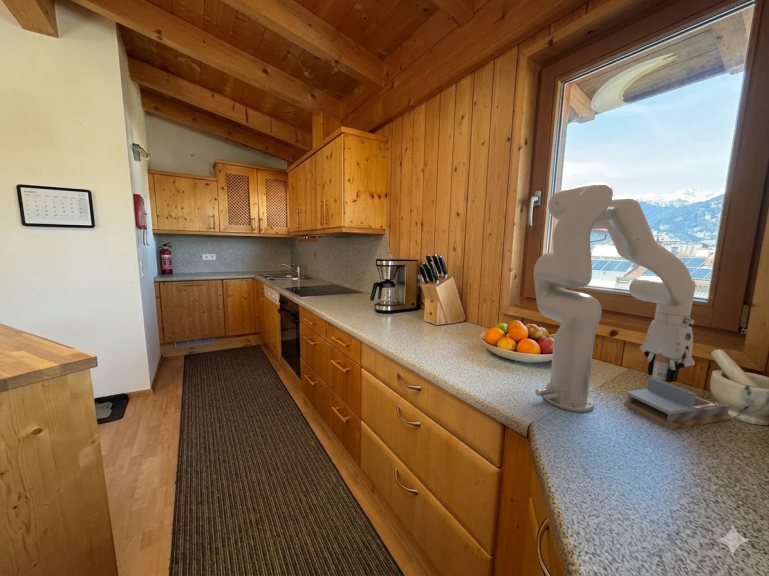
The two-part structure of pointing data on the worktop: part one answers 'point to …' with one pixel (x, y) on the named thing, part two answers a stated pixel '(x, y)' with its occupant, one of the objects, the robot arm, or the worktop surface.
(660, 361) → the sprinkles bottle
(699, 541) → the worktop surface
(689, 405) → the lid
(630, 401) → the shallow wooden box
